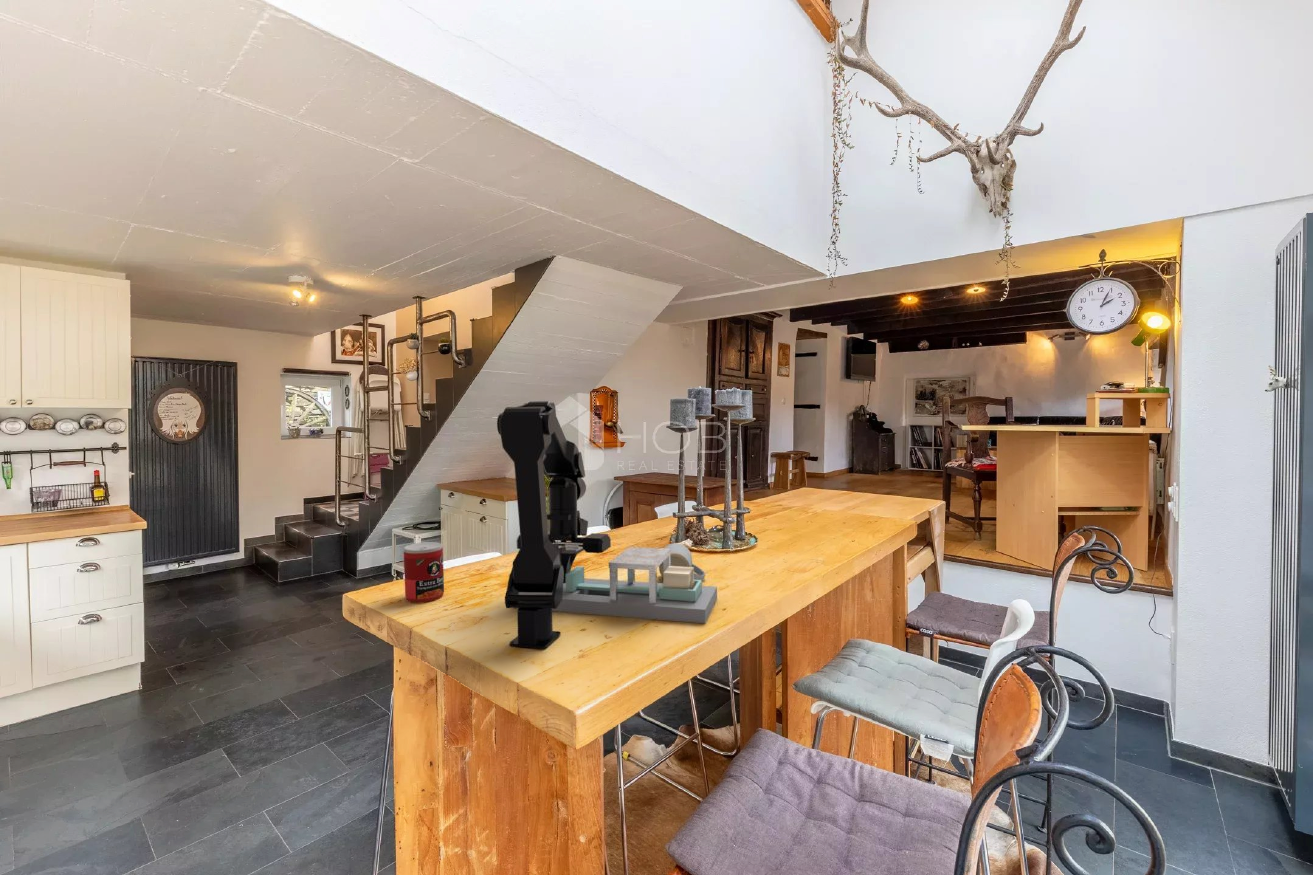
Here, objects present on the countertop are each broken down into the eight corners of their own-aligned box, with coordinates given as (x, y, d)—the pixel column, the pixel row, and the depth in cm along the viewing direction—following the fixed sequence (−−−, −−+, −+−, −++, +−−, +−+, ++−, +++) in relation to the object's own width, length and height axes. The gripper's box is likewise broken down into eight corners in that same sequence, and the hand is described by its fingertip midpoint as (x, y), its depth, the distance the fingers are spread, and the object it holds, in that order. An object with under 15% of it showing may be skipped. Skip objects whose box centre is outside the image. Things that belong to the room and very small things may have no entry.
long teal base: (695, 601, 105) (695, 582, 105) (565, 592, 111) (564, 574, 111) (702, 590, 111) (701, 572, 111) (578, 581, 118) (578, 565, 118)
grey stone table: (655, 604, 104) (654, 564, 103) (609, 601, 106) (608, 562, 106) (671, 584, 116) (670, 548, 116) (630, 581, 118) (629, 546, 118)
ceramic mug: (658, 584, 125) (658, 550, 124) (660, 574, 133) (660, 542, 132) (705, 585, 124) (706, 551, 124) (704, 575, 132) (704, 543, 132)
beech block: (689, 600, 106) (688, 574, 106) (663, 598, 107) (663, 572, 107) (694, 592, 111) (693, 567, 111) (669, 590, 112) (669, 565, 112)
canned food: (418, 605, 113) (416, 552, 112) (397, 598, 118) (396, 546, 117) (452, 595, 119) (450, 544, 118) (431, 589, 124) (429, 540, 123)
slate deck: (705, 623, 101) (705, 609, 101) (513, 607, 111) (513, 595, 111) (717, 598, 114) (716, 586, 114) (545, 586, 124) (545, 575, 124)
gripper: (618, 503, 120) (619, 574, 121) (539, 500, 125) (540, 569, 125) (600, 511, 109) (601, 590, 110) (514, 508, 114) (516, 584, 115)
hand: (564, 582), depth 115 cm, fingers closed
